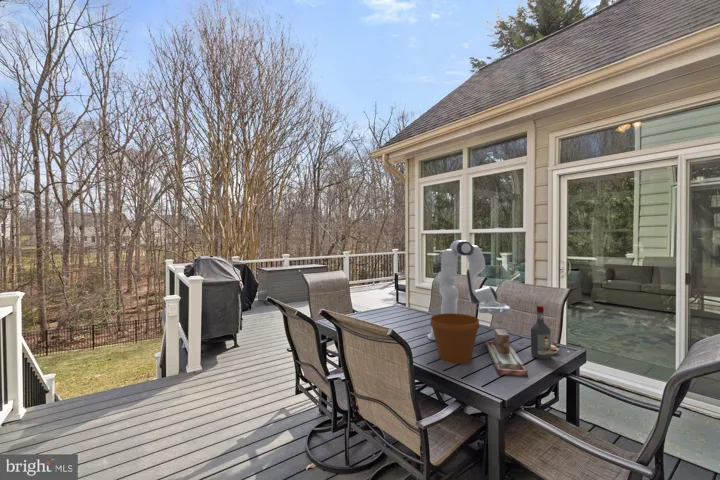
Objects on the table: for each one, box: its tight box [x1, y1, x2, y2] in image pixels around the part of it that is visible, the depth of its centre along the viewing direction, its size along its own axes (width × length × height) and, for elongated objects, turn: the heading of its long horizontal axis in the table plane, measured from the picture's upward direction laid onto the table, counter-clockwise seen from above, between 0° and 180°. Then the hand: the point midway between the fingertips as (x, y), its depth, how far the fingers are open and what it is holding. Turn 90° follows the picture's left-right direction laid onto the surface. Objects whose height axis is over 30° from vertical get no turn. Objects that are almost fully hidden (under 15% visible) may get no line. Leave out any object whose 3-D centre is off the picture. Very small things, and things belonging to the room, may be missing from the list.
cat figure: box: [551, 340, 560, 355], centre depth 212 cm, size 10×9×25 cm
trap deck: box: [485, 340, 528, 377], centre depth 197 cm, size 14×48×4 cm, turn 167°
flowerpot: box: [430, 313, 480, 365], centre depth 200 cm, size 28×28×24 cm
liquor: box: [530, 305, 552, 360], centre depth 198 cm, size 9×9×30 cm
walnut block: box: [494, 328, 510, 354], centre depth 203 cm, size 6×12×11 cm, turn 167°
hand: (496, 312), depth 220 cm, fingers open, 5 cm apart
